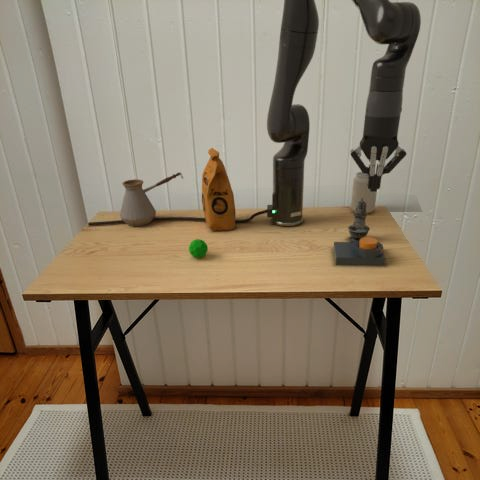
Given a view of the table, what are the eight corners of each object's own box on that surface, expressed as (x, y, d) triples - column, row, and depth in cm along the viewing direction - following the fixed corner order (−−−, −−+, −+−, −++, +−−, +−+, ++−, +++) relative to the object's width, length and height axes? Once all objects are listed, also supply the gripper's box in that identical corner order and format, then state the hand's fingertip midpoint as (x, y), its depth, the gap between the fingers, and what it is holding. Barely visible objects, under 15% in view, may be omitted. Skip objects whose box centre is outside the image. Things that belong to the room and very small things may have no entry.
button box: (335, 265, 115) (336, 251, 113) (333, 249, 123) (334, 235, 121) (384, 266, 113) (386, 251, 111) (378, 249, 122) (380, 235, 120)
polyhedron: (211, 258, 121) (209, 241, 119) (193, 262, 120) (192, 245, 117) (203, 251, 125) (202, 235, 123) (187, 255, 124) (185, 239, 121)
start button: (359, 250, 113) (360, 243, 112) (358, 243, 117) (358, 237, 116) (377, 250, 113) (378, 244, 112) (375, 243, 117) (376, 237, 116)
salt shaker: (370, 237, 129) (375, 196, 122) (365, 245, 124) (371, 202, 118) (349, 235, 131) (353, 194, 125) (344, 242, 127) (348, 200, 120)
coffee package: (205, 233, 137) (198, 157, 125) (203, 219, 147) (197, 148, 135) (237, 230, 137) (234, 155, 126) (233, 216, 148) (230, 146, 136)
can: (374, 215, 144) (379, 176, 138) (350, 214, 145) (354, 176, 139) (373, 207, 150) (378, 170, 144) (350, 206, 152) (354, 170, 145)
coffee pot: (118, 229, 142) (109, 181, 134) (123, 217, 152) (115, 171, 144) (187, 225, 143) (182, 177, 135) (187, 213, 153) (183, 167, 145)
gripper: (410, 109, 102) (398, 186, 112) (350, 110, 104) (343, 186, 113) (417, 115, 96) (404, 195, 105) (353, 116, 98) (346, 195, 107)
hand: (372, 190), depth 109 cm, fingers closed
